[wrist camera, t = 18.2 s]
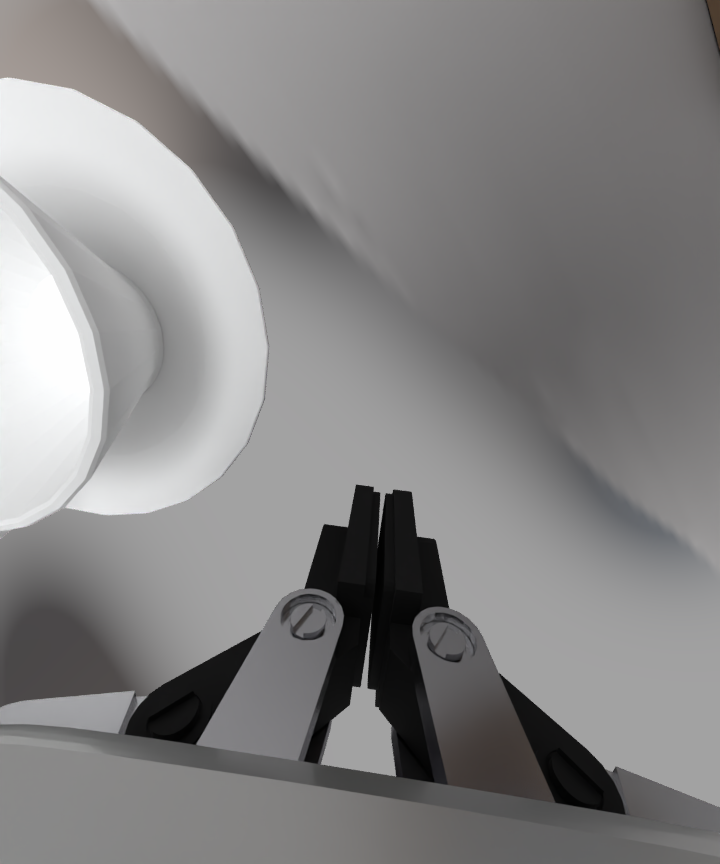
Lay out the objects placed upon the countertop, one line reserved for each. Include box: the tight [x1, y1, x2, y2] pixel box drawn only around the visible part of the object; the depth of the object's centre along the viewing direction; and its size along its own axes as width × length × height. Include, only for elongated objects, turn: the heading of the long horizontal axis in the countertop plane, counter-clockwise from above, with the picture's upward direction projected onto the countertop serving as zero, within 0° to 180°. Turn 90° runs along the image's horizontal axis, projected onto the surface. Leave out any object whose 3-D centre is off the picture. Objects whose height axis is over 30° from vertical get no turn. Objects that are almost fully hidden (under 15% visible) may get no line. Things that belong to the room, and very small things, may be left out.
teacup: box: [0, 77, 269, 539], centre depth 9 cm, size 12×12×5 cm
